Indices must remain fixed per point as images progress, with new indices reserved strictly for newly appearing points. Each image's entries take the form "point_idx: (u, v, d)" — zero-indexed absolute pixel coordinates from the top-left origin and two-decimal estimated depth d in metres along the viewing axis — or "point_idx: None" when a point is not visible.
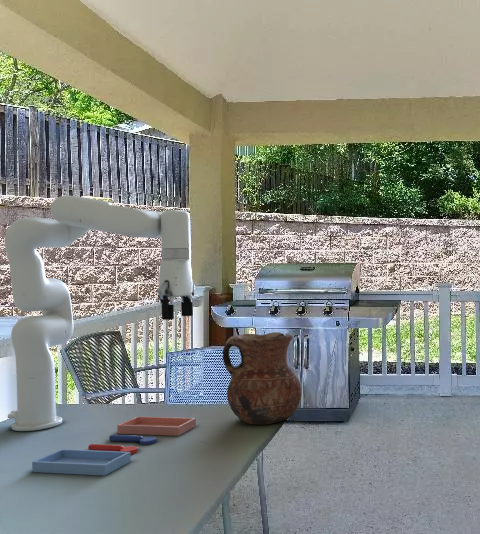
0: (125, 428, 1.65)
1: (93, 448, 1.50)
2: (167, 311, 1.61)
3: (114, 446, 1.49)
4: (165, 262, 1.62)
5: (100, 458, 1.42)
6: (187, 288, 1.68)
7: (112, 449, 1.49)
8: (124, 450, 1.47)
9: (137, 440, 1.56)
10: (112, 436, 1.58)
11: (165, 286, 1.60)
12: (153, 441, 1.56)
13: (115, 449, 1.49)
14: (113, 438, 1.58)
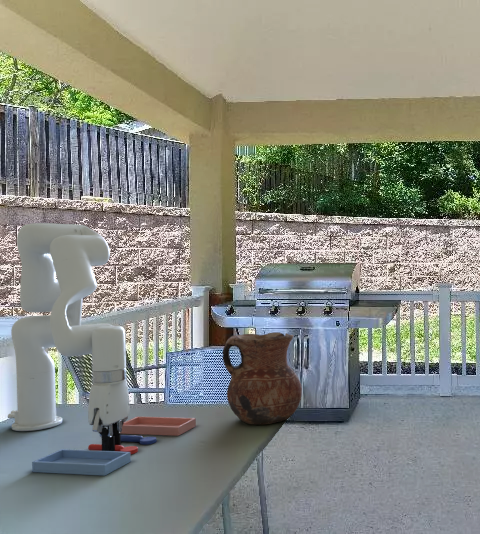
0: (125, 428, 1.65)
1: (93, 448, 1.50)
2: (107, 444, 1.47)
3: None
4: (95, 387, 1.45)
5: (100, 458, 1.42)
6: (122, 412, 1.51)
7: None
8: (124, 450, 1.47)
9: (137, 440, 1.56)
10: None
11: (99, 421, 1.45)
12: (153, 441, 1.56)
13: (115, 449, 1.49)
14: None
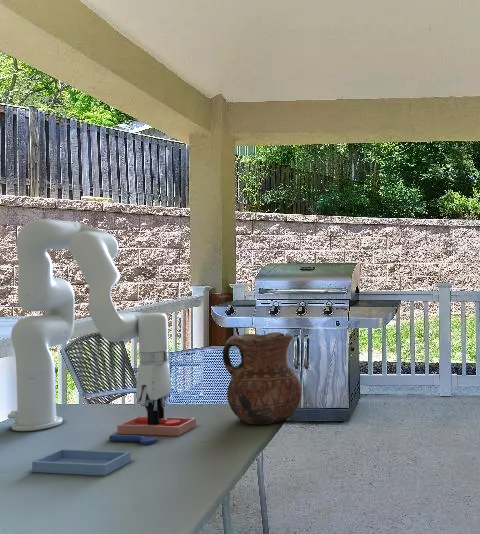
0: (125, 428, 1.65)
1: (140, 421, 1.68)
2: (152, 417, 1.66)
3: None
4: (142, 366, 1.64)
5: (100, 458, 1.42)
6: (165, 389, 1.69)
7: None
8: (168, 422, 1.66)
9: (137, 440, 1.56)
10: (112, 436, 1.58)
11: (146, 397, 1.63)
12: (153, 441, 1.56)
13: (159, 422, 1.67)
14: (113, 438, 1.58)
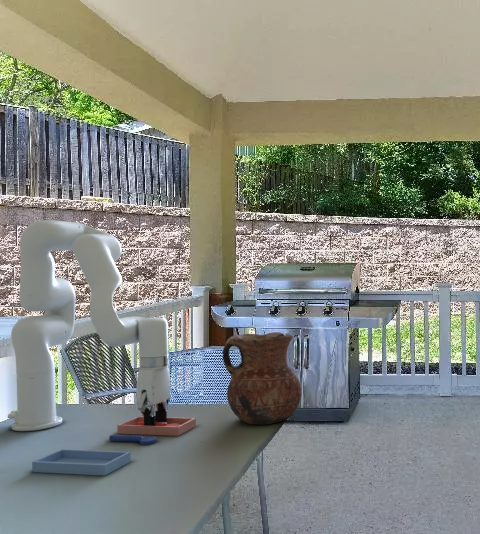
0: (125, 428, 1.65)
1: None
2: (149, 423, 1.65)
3: (159, 423, 1.68)
4: (142, 371, 1.64)
5: (100, 458, 1.42)
6: (165, 394, 1.69)
7: None
8: None
9: (137, 440, 1.56)
10: (112, 436, 1.58)
11: (144, 400, 1.63)
12: (153, 441, 1.56)
13: None
14: (113, 438, 1.58)
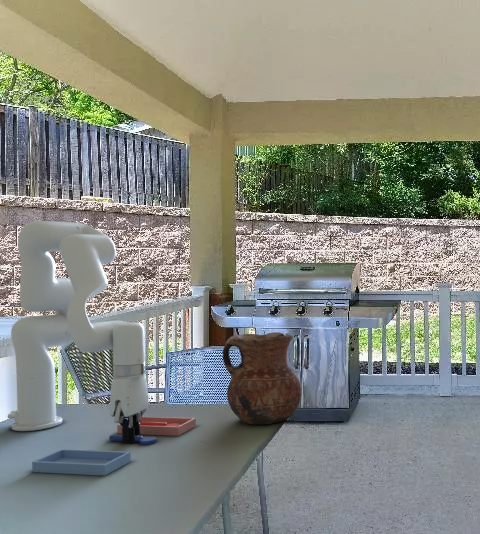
0: None
1: None
2: (127, 434, 1.55)
3: (159, 423, 1.68)
4: (116, 380, 1.53)
5: (100, 458, 1.42)
6: (141, 404, 1.59)
7: None
8: None
9: (137, 440, 1.56)
10: (112, 436, 1.58)
11: (120, 413, 1.53)
12: (153, 441, 1.56)
13: None
14: (113, 438, 1.58)
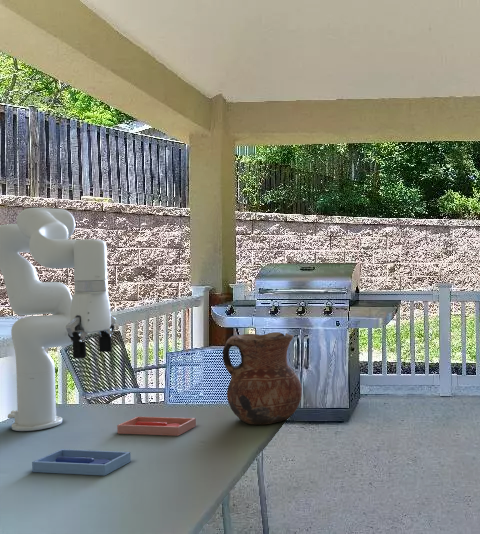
0: (125, 428, 1.65)
1: None
2: (78, 349, 1.49)
3: (159, 423, 1.68)
4: (76, 295, 1.50)
5: (100, 458, 1.42)
6: (103, 322, 1.56)
7: None
8: None
9: (87, 463, 1.38)
10: (59, 458, 1.39)
11: (75, 322, 1.48)
12: None
13: None
14: (60, 460, 1.39)
